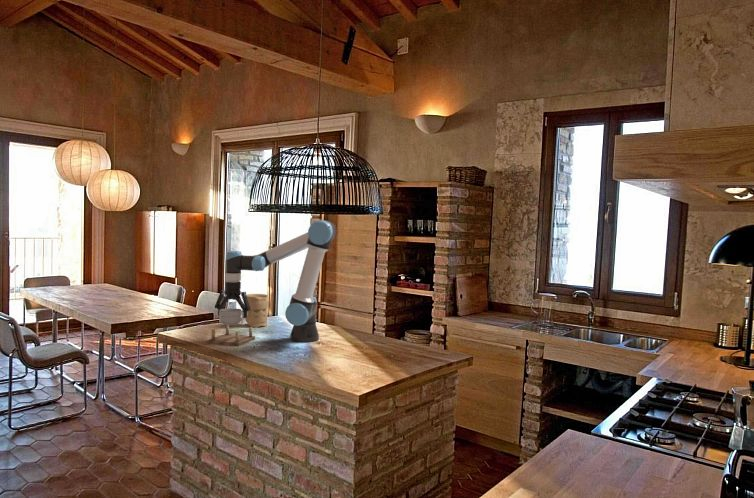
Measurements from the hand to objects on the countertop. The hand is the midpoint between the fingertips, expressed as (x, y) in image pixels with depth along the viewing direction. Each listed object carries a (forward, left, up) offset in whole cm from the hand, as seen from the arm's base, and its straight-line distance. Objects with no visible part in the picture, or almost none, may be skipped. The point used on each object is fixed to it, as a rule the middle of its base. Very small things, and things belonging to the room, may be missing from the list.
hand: (232, 323), depth 283 cm
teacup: (-1, 0, -1) cm, 1 cm away
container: (+8, -41, -9) cm, 43 cm away
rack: (0, 0, -9) cm, 9 cm away
